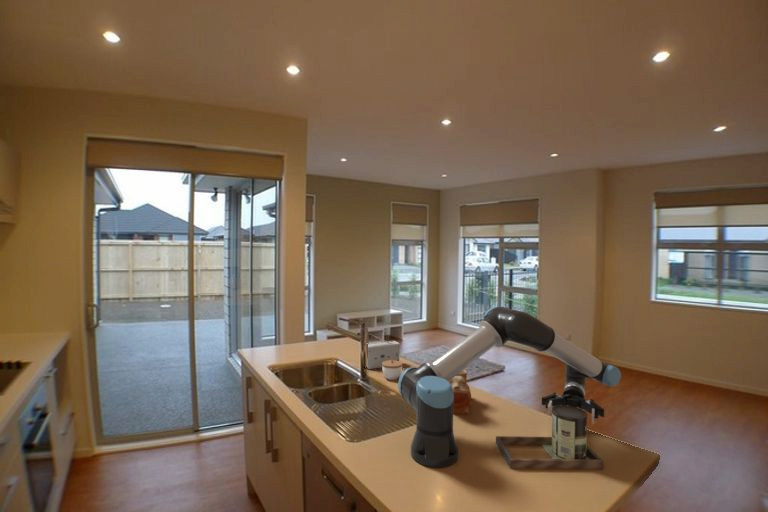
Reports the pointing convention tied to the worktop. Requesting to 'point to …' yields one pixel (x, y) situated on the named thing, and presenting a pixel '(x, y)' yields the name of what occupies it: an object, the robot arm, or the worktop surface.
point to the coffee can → (569, 432)
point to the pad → (550, 451)
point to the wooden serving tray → (590, 463)
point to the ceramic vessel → (461, 393)
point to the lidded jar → (392, 369)
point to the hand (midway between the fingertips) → (570, 414)
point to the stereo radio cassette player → (382, 353)
